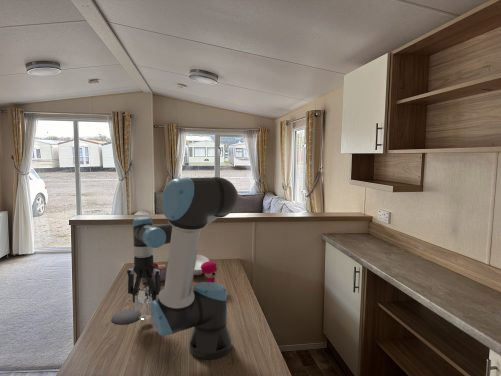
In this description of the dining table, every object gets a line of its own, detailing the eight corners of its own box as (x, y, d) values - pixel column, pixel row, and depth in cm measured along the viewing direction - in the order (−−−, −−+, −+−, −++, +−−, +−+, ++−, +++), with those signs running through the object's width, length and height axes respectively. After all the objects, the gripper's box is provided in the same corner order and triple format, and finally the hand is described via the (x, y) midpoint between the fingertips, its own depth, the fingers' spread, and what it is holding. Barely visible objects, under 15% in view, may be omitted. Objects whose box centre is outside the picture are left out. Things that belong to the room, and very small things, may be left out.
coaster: (133, 324, 137) (133, 323, 137) (105, 323, 138) (105, 321, 138) (145, 311, 149) (145, 310, 149) (120, 310, 150) (120, 308, 150)
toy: (214, 293, 169) (214, 264, 168) (198, 292, 171) (198, 263, 169) (219, 287, 177) (219, 259, 176) (204, 286, 179) (204, 258, 178)
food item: (166, 276, 193) (165, 260, 192) (168, 281, 185) (167, 264, 185) (141, 279, 188) (141, 262, 187) (142, 284, 181) (141, 267, 180)
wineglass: (147, 312, 142) (146, 285, 141) (155, 316, 138) (154, 288, 137) (135, 317, 137) (134, 289, 137) (142, 321, 134) (142, 292, 133)
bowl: (183, 264, 215) (183, 255, 215) (206, 263, 219) (206, 254, 218) (185, 281, 186) (185, 270, 186) (212, 279, 190) (212, 268, 189)
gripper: (169, 253, 139) (170, 307, 140) (126, 252, 141) (127, 305, 142) (162, 258, 131) (163, 315, 133) (117, 257, 133) (118, 313, 135)
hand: (145, 310), depth 138 cm, fingers closed on wineglass, 6 cm apart
